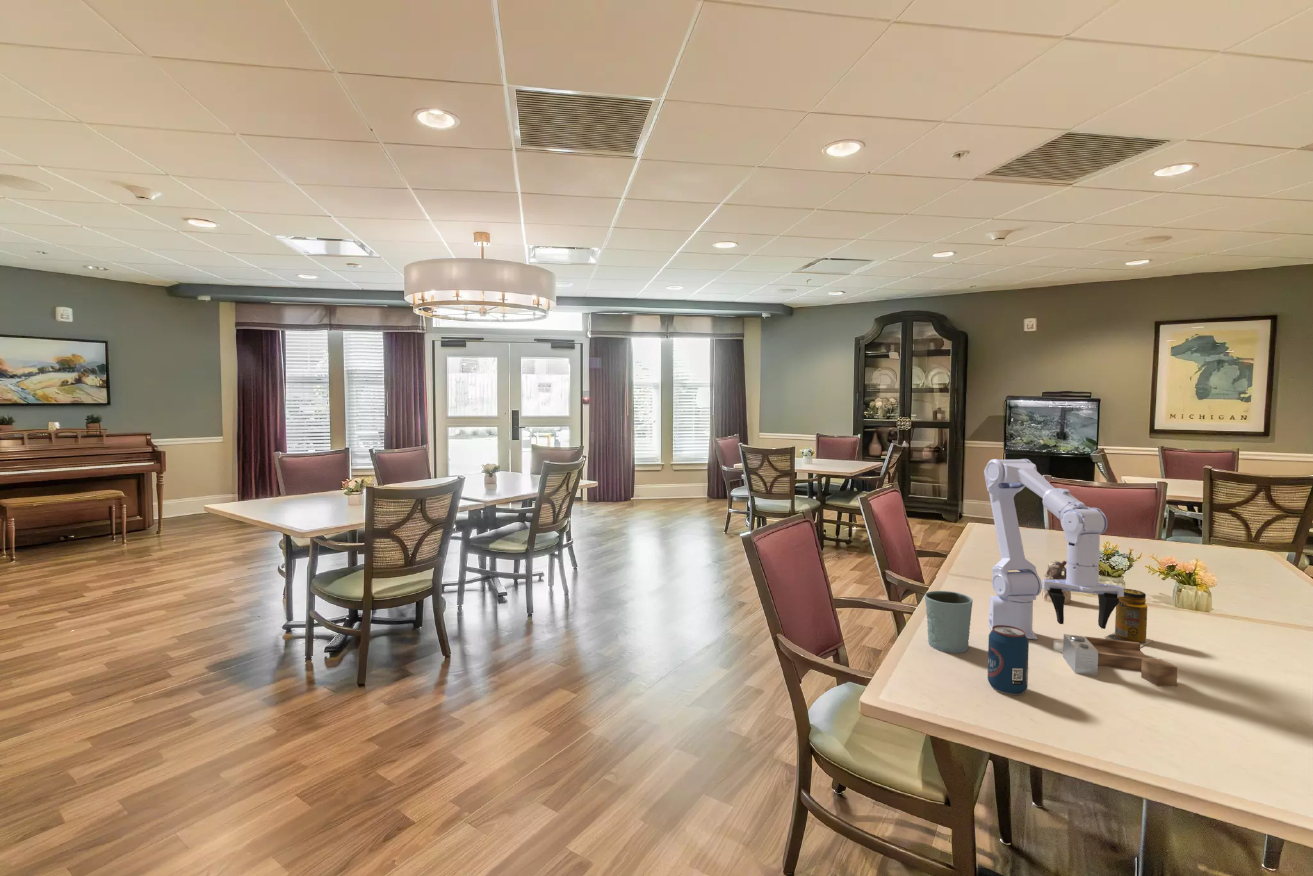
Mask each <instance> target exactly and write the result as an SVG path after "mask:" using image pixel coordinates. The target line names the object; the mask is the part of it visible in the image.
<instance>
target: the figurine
mask: <svg viewBox="0 0 1313 876" xmlns="http://www.w3.org/2000/svg"><path fill="white" fill-rule="evenodd" d="M1065 566H1067V560H1062V561H1059V560H1053V561H1051V562H1050V563H1048V564H1047V571H1046V573H1044V574H1043V576H1044V577H1045V579H1049V580H1066V571H1067V567H1065ZM1041 592H1042V594H1041V595H1042V597H1041V599H1042V600H1043V601H1045V602H1048V603H1051V604H1053V602H1052V600H1051V598H1050V596H1049V594H1048V592H1047V590H1044V589H1043V590H1042V591H1041ZM1062 592H1063V595H1064V596H1065V602H1064V605H1067V604H1070V603H1071V599H1072V593H1071V592H1072V591H1062Z"/></svg>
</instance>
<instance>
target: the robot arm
mask: <svg viewBox="0 0 1313 876" xmlns="http://www.w3.org/2000/svg"><path fill="white" fill-rule="evenodd" d="M983 474H984V480H985V485H986V489H987V490H986V491H987V492H988V494H989V500H990V505H991V506H990V507H991V511H992V518H993V523H994V528H995V533H996V539H997V545H998V549H999V556H1000V560H999V561H997V562H996V564H995V565H994V566H993V567H992V568H991V569H992V570H991V571H992V577H991V578H992V579H991V586H992V589H993V591H994V593H995V594H996V595H990V596H989V604H988V605H989V606H988V626H989V628H990V631H992V627H993V626H996V625H1006V626H1012V627H1016V628H1019V629H1021V630H1023V631H1024V632H1025V636H1026V637H1027V639H1029V640H1038V637H1037V635H1036V634H1035V633H1034V631H1033V619H1034V618H1033V617H1034V601H1037V597H1038V596H1039V595H1041V592H1042V591H1043V590H1047V592H1048V594H1049V596H1050V598H1051V600H1052V602H1053V603H1052V605H1053V608H1054V611H1055V614H1056V620H1057V623H1058V624H1059V625H1064V622H1065V616H1064V615H1065V614H1064V610H1065V609H1064V607H1065V604H1064V602H1065V596H1064V595H1063V592H1062V591H1070V592H1075V593H1083V594H1084V593H1087V594H1094V595H1095V594H1096V595H1097V598H1098V600H1097V601H1098V617H1097V618H1098V620H1097V622H1098V623H1097V625H1098V627H1100V629H1104V630H1105V629H1107V628H1106V627H1107V624H1108V621H1109V618H1110V616H1111V614H1112V613H1113V611H1114V610H1115V609H1116V606H1117V604H1118V603H1119V598H1118V596H1119V597H1124V589H1125V588H1124V587H1123V586H1122V585H1117V584H1110V583H1109V584H1108V583H1102V582H1099V576H1100V575H1099V574H1100V571H1099V570H1100V540H1101V539H1100V536H1101V535H1103V534H1104V533H1106V531H1107V528H1108V519H1107V517H1106V515H1105V513H1104V512H1103V511H1102V510H1101V509H1100V508H1098V507H1090V506H1087V505H1086V504H1085V503H1084V502H1083V501H1080V500H1079V499H1077V497H1075V496H1074V495H1073V494H1071V490H1069V489H1068V488H1061V487H1057V488H1056V487H1054V486H1053V485H1052V484H1051V483H1050V482H1049V481H1048V480H1047V479H1046V478H1045V477H1044V476H1043V475H1042V474H1040V473H1039V471H1038V470H1037V465H1036V464H1035V463H1033V462H1032V461H1031V460H1030V459H1028V458H1020V459H998V458H992V459H990V460H989V461H988V462H987V463H986V466H985V468H984V470H983ZM1024 488H1027V489H1028V490H1030V491H1032V492H1033V493H1035V495H1037V496H1039V497H1040V498H1042V505H1043V507H1044V508H1046V509H1047V510H1048V511H1049V513H1051V514H1053V515H1054V516H1055V517H1056V518H1057V519H1058V520H1059V521H1060V526H1061V528H1062V530H1063V532H1064V539H1065V541H1066V543H1067V545H1066V562H1067V563H1066V569H1067V571H1066V580H1049V579H1046V578H1042V579H1041V577H1040V576H1039V574H1038V571H1037V568H1036V565H1034V564H1033V563H1032V562H1030V561H1029V560H1028V559H1026V557H1025V552H1024V546H1023V540H1022V536H1021V532H1020V531H1021V530H1020V525H1019V521H1018V514H1017V508H1016V506H1015V505H1016V504H1015V499H1014V498H1015V496H1016V494H1017V493H1020V492H1021V491H1023V489H1024ZM1042 589H1043V590H1042Z"/></svg>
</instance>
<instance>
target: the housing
mask: <svg viewBox="0 0 1313 876" xmlns="http://www.w3.org/2000/svg"><path fill="white" fill-rule="evenodd" d="M1086 637H1087V636H1085V635H1084V636H1083V635H1075V634H1065V633H1063V653H1062V657H1063V660H1064V661H1065V662H1066V663H1067V664H1068V665H1067V666H1069V667H1070V669H1071V670H1072V671H1073V672H1074V674H1078V675H1085V676H1090V677H1091V676H1092V677H1098V673H1099V672H1098V668H1099V667H1098V666H1099V665H1098V650H1097V649H1096V648H1095V647H1094V646H1093V645H1092V644H1091V643H1090V642H1089V641H1088V640H1087V638H1086Z"/></svg>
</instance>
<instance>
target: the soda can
mask: <svg viewBox="0 0 1313 876" xmlns="http://www.w3.org/2000/svg"><path fill="white" fill-rule="evenodd" d="M987 647H988V650H987V652H988V654H987V682H988V683H989V685H990V686H991V688H992V689H994V690H995V691H997V692H998V693H1002V694H1003V695H1004V694H1005V695H1009V696H1020V695H1021V696H1022V695H1023V693H1024V692H1026V690H1027V689H1028V685H1029V684H1028V683H1029V681H1028V679H1029V675H1028V674H1029V640H1028V639H1027V637H1026V636H1025V632H1024V631H1023V630H1021V629H1019V628H1016V627H1012V626H1006V625H996V626H993V627H992V630H990V632H989V634H988V646H987Z"/></svg>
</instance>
